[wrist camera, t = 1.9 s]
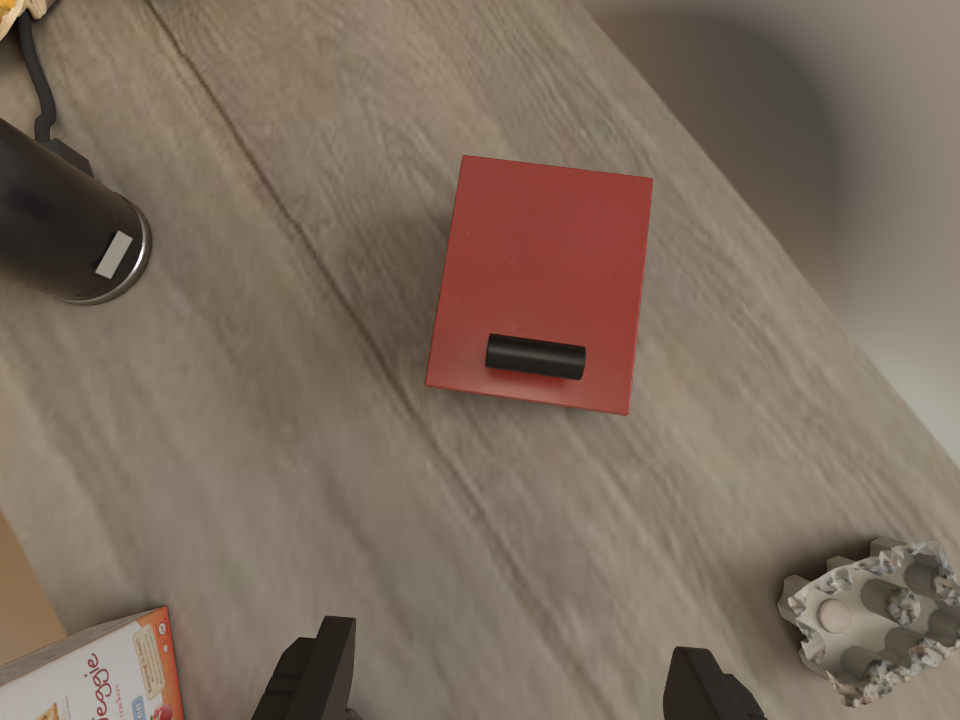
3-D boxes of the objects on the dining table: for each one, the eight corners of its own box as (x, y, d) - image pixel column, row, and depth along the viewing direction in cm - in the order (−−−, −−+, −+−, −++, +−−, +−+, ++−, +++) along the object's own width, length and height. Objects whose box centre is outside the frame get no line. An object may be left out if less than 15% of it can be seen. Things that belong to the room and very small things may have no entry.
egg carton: (804, 685, 35) (845, 717, 31) (760, 574, 36) (793, 591, 32) (950, 633, 35) (1010, 658, 31) (901, 525, 36) (952, 536, 32)
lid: (625, 416, 30) (652, 410, 25) (425, 386, 31) (412, 375, 26) (650, 184, 33) (679, 135, 27) (463, 161, 33) (457, 109, 28)
